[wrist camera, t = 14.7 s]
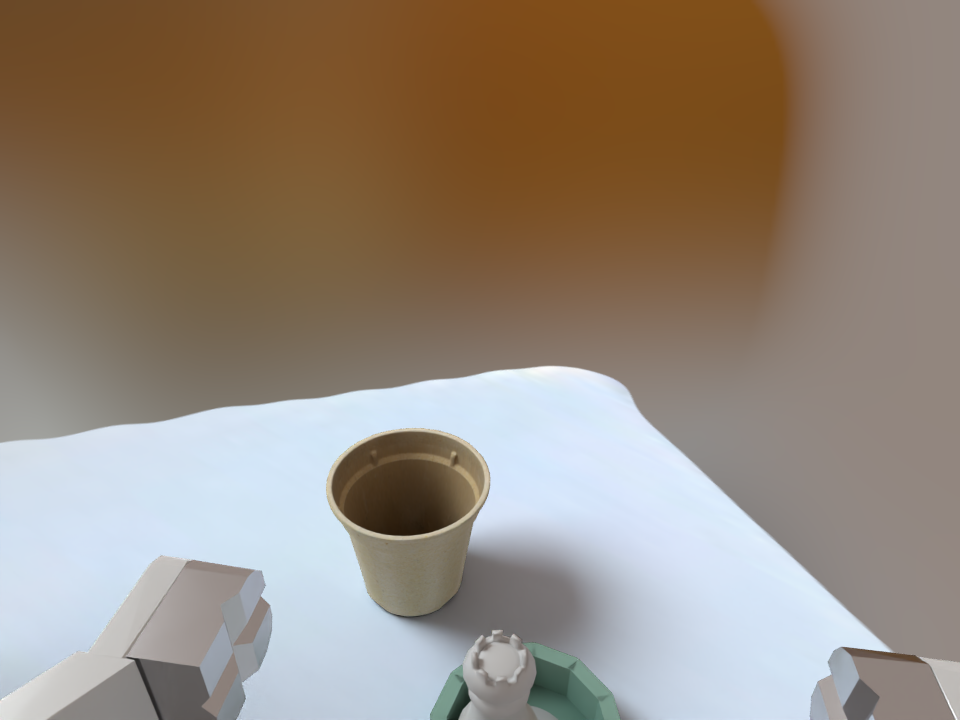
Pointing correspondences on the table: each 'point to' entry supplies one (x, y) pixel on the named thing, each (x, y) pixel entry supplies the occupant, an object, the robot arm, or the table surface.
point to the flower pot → (409, 513)
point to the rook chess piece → (499, 679)
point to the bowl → (543, 690)
